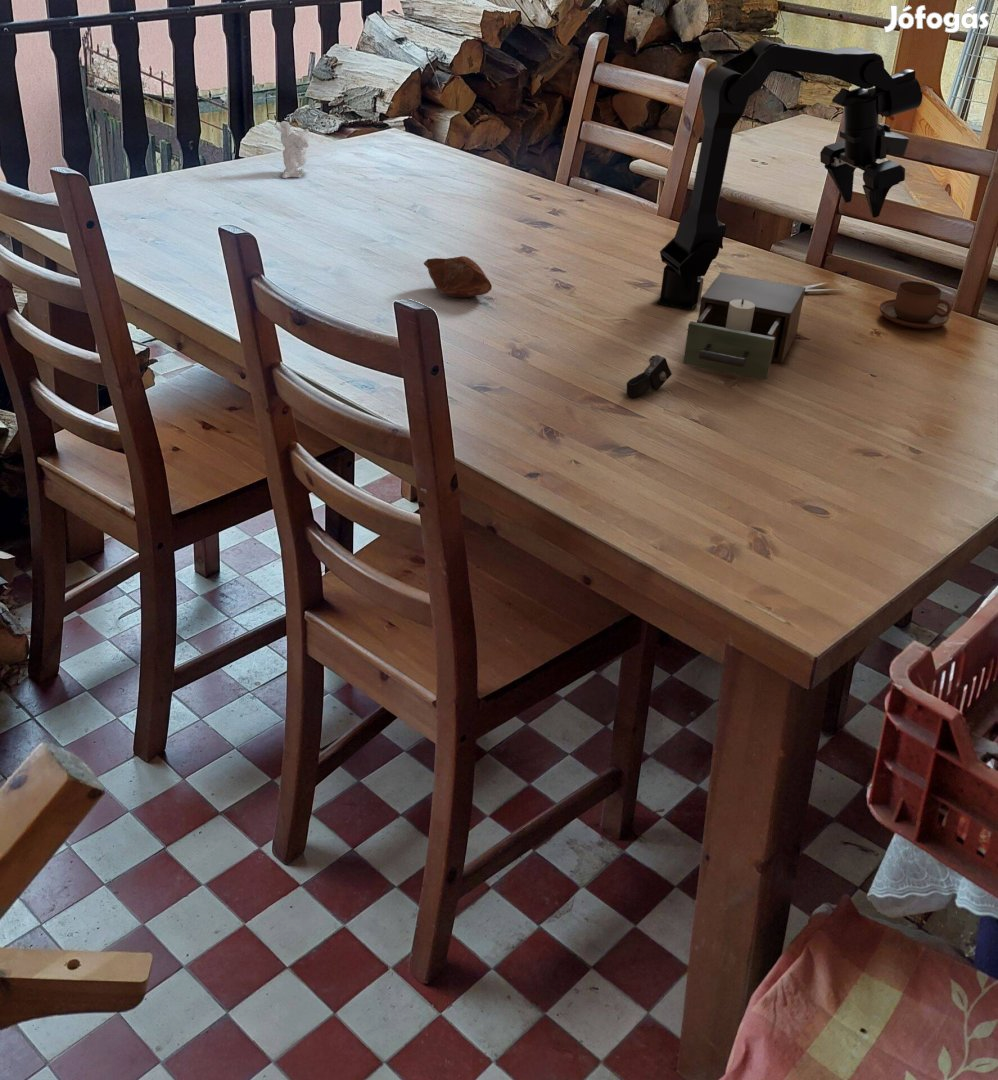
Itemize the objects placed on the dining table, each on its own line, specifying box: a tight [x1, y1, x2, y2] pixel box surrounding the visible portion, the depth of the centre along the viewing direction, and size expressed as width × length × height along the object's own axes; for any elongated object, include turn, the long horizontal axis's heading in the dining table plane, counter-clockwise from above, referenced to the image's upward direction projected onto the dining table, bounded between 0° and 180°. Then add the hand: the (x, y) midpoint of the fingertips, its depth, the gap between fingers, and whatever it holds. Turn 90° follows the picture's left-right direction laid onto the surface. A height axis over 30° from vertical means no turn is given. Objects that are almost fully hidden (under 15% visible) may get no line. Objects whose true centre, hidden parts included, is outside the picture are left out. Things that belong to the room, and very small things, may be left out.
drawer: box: [682, 303, 784, 381], centre depth 187 cm, size 17×13×7 cm
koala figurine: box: [274, 120, 310, 179], centre depth 267 cm, size 8×7×12 cm
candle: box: [725, 299, 755, 332], centre depth 188 cm, size 4×4×9 cm
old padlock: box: [626, 354, 673, 399], centre depth 179 cm, size 8×2×5 cm
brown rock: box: [423, 255, 493, 299], centre depth 208 cm, size 13×8×10 cm
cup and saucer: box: [879, 280, 952, 330], centre depth 210 cm, size 12×12×6 cm
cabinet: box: [698, 271, 806, 364], centre depth 197 cm, size 14×15×9 cm
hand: (861, 209), depth 215 cm, fingers open, 9 cm apart
